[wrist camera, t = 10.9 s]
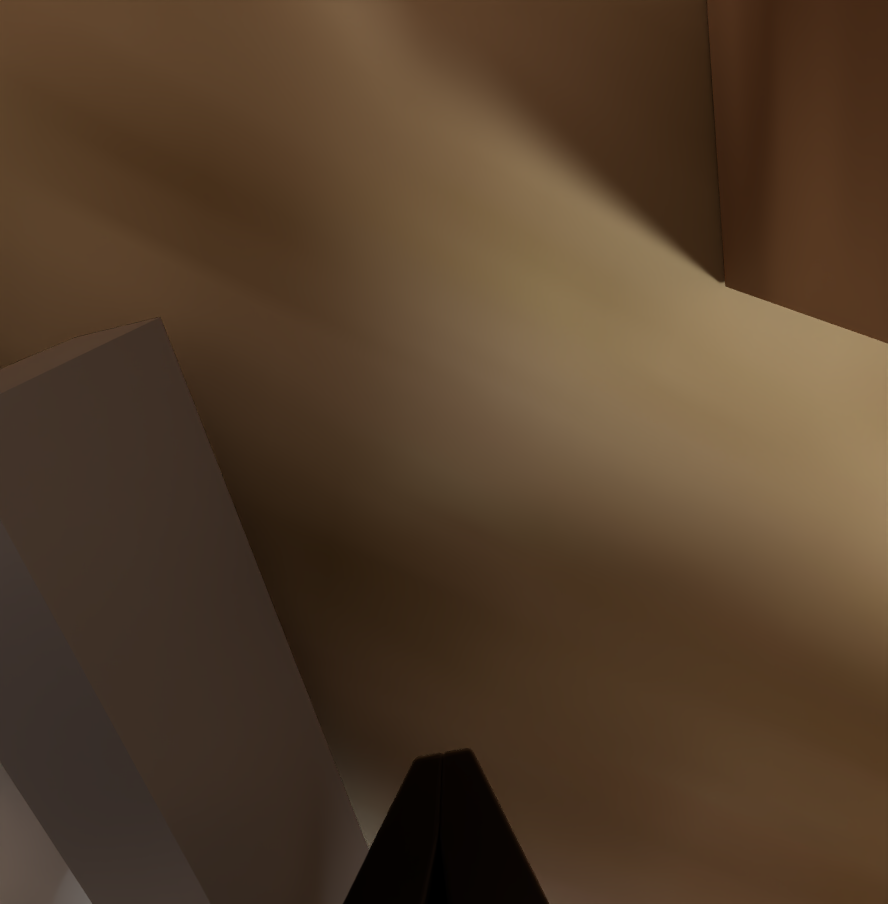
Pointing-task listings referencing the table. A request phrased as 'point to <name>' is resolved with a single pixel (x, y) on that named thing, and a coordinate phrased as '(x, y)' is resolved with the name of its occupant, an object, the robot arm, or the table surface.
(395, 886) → the robot arm
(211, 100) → the table surface
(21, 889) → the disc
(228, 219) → the table surface
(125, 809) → the tray
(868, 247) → the block
